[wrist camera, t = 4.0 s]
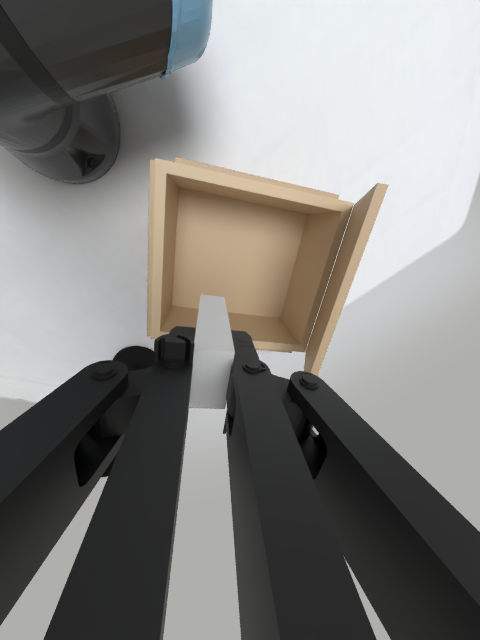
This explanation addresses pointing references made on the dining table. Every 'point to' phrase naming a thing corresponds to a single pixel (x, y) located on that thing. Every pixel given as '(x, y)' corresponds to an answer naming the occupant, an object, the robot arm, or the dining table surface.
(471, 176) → the dining table surface
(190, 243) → the carton
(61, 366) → the dining table surface
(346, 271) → the carton flap
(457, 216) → the dining table surface
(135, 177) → the dining table surface
